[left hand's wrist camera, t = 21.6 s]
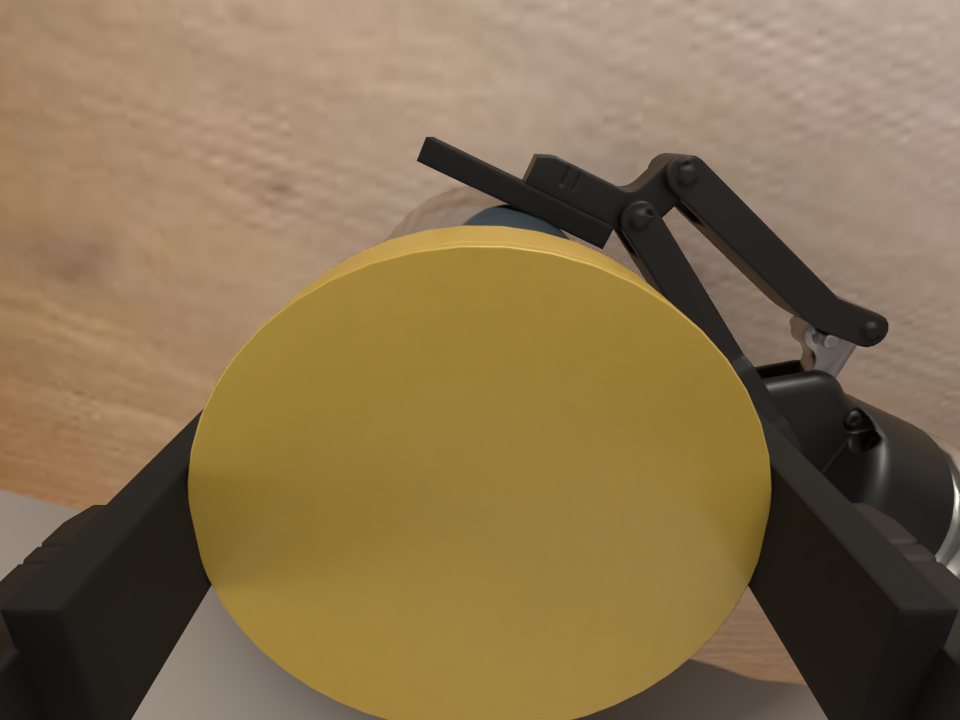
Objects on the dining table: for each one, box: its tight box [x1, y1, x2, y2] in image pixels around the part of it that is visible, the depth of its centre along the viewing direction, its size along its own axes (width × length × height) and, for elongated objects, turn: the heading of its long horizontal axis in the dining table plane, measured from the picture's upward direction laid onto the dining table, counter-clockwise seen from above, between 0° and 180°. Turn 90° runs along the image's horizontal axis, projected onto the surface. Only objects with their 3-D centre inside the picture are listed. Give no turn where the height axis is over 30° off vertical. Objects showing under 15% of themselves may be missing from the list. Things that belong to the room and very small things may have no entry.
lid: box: [188, 226, 772, 720], centre depth 12 cm, size 11×11×2 cm
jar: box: [383, 187, 577, 243], centre depth 19 cm, size 10×10×17 cm
